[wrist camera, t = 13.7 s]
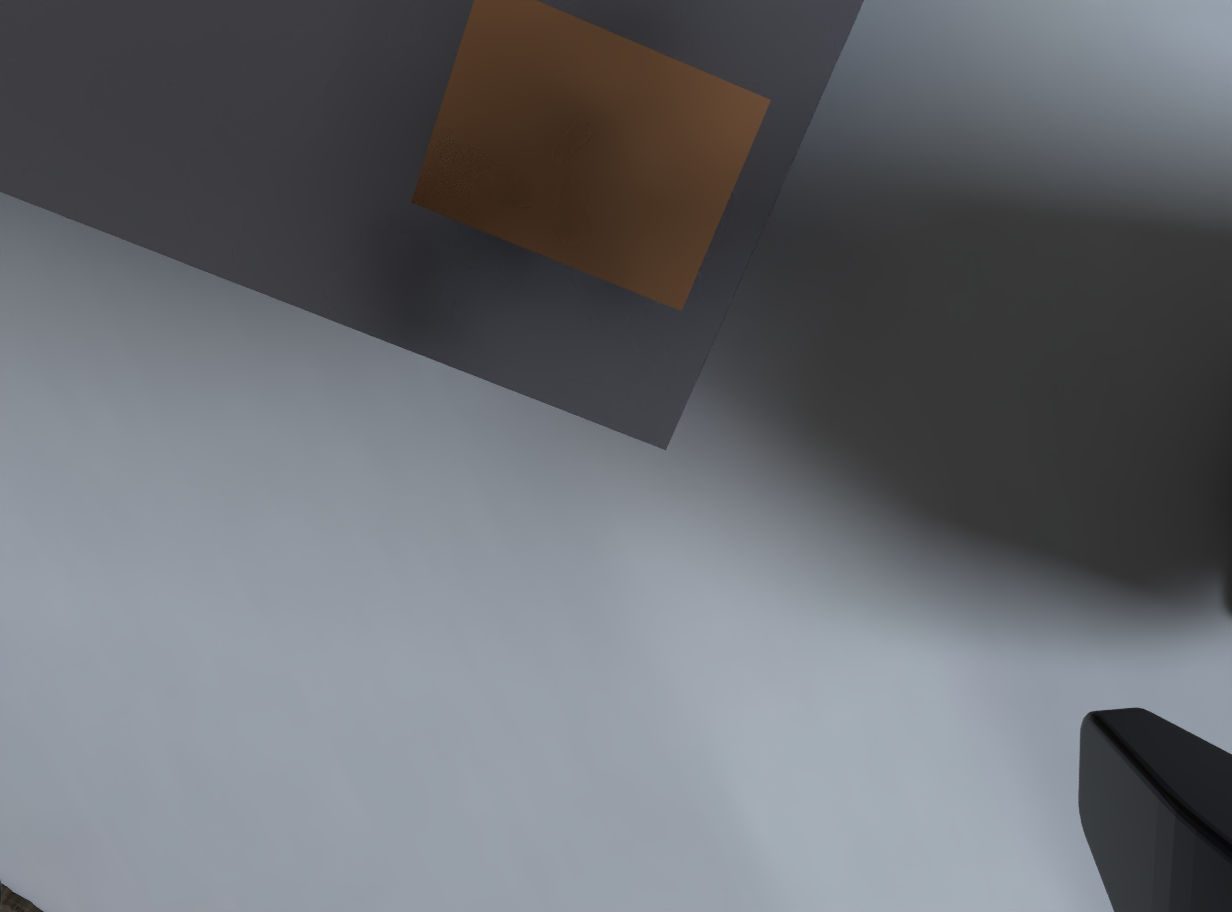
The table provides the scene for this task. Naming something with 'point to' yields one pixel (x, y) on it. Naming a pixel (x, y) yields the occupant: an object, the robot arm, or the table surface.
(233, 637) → the table surface
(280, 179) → the plane body
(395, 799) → the table surface
